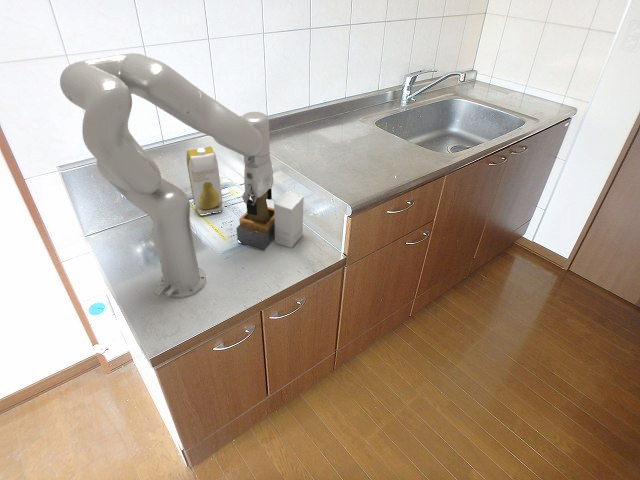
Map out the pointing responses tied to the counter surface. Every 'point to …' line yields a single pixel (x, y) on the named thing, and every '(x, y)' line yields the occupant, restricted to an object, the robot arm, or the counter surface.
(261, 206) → the olive rounded tall piece
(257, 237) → the grey open box
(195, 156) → the juice carton
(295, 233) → the skincare box
